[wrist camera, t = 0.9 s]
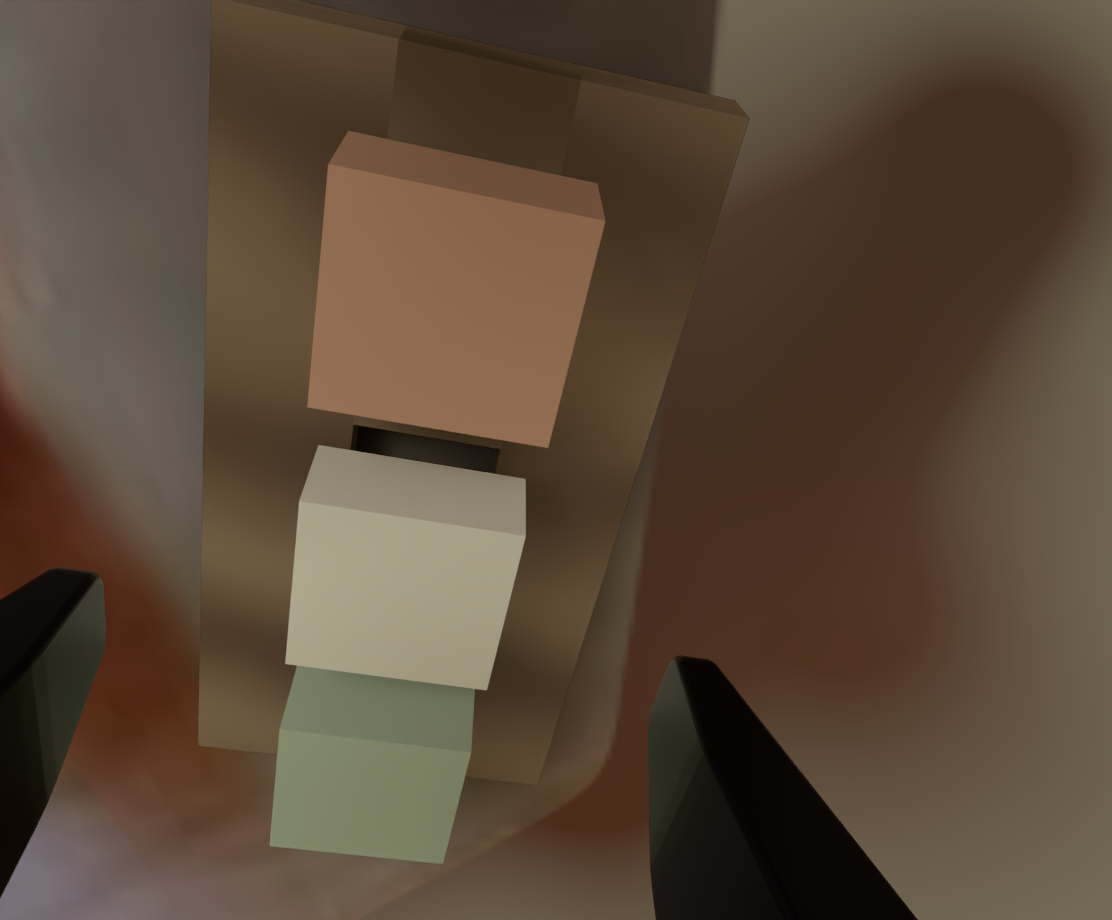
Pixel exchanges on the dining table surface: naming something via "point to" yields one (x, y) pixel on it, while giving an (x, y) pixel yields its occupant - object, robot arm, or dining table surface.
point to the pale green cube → (370, 765)
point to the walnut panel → (296, 430)
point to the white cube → (403, 568)
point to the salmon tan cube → (449, 289)
